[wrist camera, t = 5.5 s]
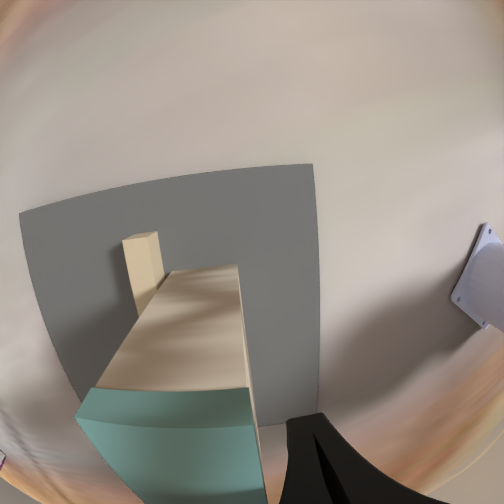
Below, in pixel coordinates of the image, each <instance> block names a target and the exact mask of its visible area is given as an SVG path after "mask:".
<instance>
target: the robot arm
mask: <svg viewBox="0 0 504 504" xmlns="http://www.w3.org/2000/svg"><path fill="white" fill-rule="evenodd" d="M451 301H452V302H453V303H455V304H456V305H457V306H458V307H459V308H460V309H461V310H463V311H464V312H465V313H466V314H467V315H468V316H469V317H471V318H472V319H473V320H474V321H475V322H476V323H477V324H478V325H479V326H480V327H481V328H483V329H484V330H485V329H487V327H488V326H489V324H491V325H493V326H494V327H496V328H498V329H499V330H501V331H502V332H504V244H502V242H501V241H500V239H499V238H498V236H497V235H496V233H495V232H494V230H493V229H492V227H491V226H490V224H489V223H484V225H483V227H482V230H481V232H480V235H479V237H478V240H477V242H476V245H475V247H474V249H473V252H472V254H471V256H470V258H469V260H468V263H467V265H466V267H465V269H464V271H463V273H462V275H461V277H460V279H459V281H458V283H457V285H456V287H455V289H454V291H453V292H452V294H451ZM286 426H287V449H288V465H287V471H286V477H285V482H284V487H283V491H282V495H281V499H280V502H279V504H449V503H446V502H442V501H439V500H436V499H433V498H430V497H427V496H425V495H422V494H420V493H418V492H416V491H414V490H412V489H409V488H407V487H405V486H403V485H402V484H400V483H398V482H396V481H395V480H393V479H391V478H390V477H388V476H387V475H385V474H384V473H382V472H381V471H380V470H378V469H377V468H376V467H374V466H373V465H372V464H371V463H369V462H368V461H367V460H366V459H365V458H363V457H362V456H361V455H360V454H359V453H358V452H357V451H356V450H355V449H354V448H353V447H352V446H351V445H350V444H349V443H348V442H347V441H346V440H345V439H344V438H343V437H342V436H341V435H340V434H339V432H338V431H337V430H336V429H335V428H334V427H333V425H332V424H331V423H330V422H329V420H328V419H327V418H326V416H325V415H324V414H323V413H322V412H320V413H316V414H311V415H306V416H301V417H295V418H290V419H288V420H287V421H286Z"/></svg>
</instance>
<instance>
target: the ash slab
mask: <svg viewBox="0 0 504 504" xmlns="http://www.w3.org/2000/svg"><path fill="white" fill-rule="evenodd" d="M74 418H75V419H76V421H77V422H78V424H79V425H80V427H81V428H82V430H83V431H84V433H85V434H86V436H87V437H88V439H89V440H90V441H91V443H92V444H93V445H94V447H95V448H96V449H97V451H98V452H99V453H100V455H101V456H102V457H103V458H104V460H105V461H106V462H107V463H108V464H109V466H110V467H111V468H112V469H113V470H114V472H115V473H116V474H117V475H118V476H119V477H120V478H121V479H122V481H123V482H124V483H125V484H126V485H127V486H128V487H129V488H130V489H131V490H132V491H133V492H134V493H135V494H136V495H137V496H138V497H139V498H140V499H141V500H142V501H143V502H144V503H145V504H268V500H267V495H266V489H265V482H264V474H263V467H262V459H261V451H260V443H259V435H258V427H257V419H256V411H255V402H254V394H253V385H252V377H251V370H250V362H249V355H248V347H247V339H246V332H245V324H244V316H243V308H242V299H241V291H240V283H239V274H238V266H237V264H231V265H222V266H213V267H204V268H195V269H185V270H176V271H171V273H170V274H169V275H168V277H167V278H166V280H165V281H164V282H163V284H162V285H161V287H160V288H159V290H158V291H157V292H156V294H155V295H154V297H153V298H152V300H151V301H150V302H149V304H148V305H147V307H146V308H145V310H144V311H143V313H142V314H141V316H140V317H139V319H138V320H137V322H136V323H135V325H134V326H133V328H132V329H131V331H130V332H129V334H128V335H127V337H126V338H125V340H124V341H123V343H122V344H121V346H120V347H119V349H118V350H117V352H116V354H115V355H114V357H113V358H112V360H111V362H110V363H109V365H108V366H107V368H106V370H105V371H104V373H103V374H102V376H101V378H100V379H99V381H98V383H97V384H96V386H95V388H91V389H90V391H89V392H88V394H87V396H86V397H85V399H84V401H83V402H82V404H81V406H80V407H79V409H78V411H77V413H76V414H75V416H74Z"/></svg>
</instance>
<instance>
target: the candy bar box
mask: <svg viewBox="0 0 504 504" xmlns="http://www.w3.org/2000/svg"><path fill="white" fill-rule="evenodd" d="M5 458H6V455H5V454H4V453H3V452H2V451H1V450H0V470H1V468H2V466H3V464H4V461H5Z"/></svg>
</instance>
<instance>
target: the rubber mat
mask: <svg viewBox="0 0 504 504" xmlns="http://www.w3.org/2000/svg"><path fill="white" fill-rule="evenodd" d="M19 217H20V225H21V231H22V237H23V243H24V248H25V254H26V258H27V263H28V267H29V271H30V275H31V279H32V283H33V287H34V290H35V294H36V297H37V301H38V304H39V307H40V310H41V313H42V316H43V319H44V322H45V325H46V327H47V330H48V333H49V335H50V338H51V340H52V343H53V345H54V348H55V350H56V352H57V355H58V357H59V359H60V361H61V364H62V366H63V368H64V370H65V372H66V374H67V376H68V378H69V380H70V382H71V384H72V386H73V388H74V390H75V392H76V394H77V396H78V397H79V399H80V401H81V403H82V402H83V401H84V399H85V397H86V396H87V394H88V392H89V391H90V389H91V388H95V386H96V384H97V383H98V381H99V379H100V378H101V376H102V374H103V373H104V371H105V370H106V368H107V366H108V365H109V363H110V362H111V360H112V358H113V357H114V355H115V354H116V352H117V350H118V349H119V347H120V346H121V344H122V343H123V341H124V340H125V338H126V337H127V335H128V334H129V332H130V331H131V329H132V328H133V326H134V325H135V323H136V322H137V320H138V319H139V317H140V316H141V314H142V313H143V311H144V310H145V308H146V307H147V305H148V304H149V302H150V301H151V300H152V298H153V297H154V295H155V294H156V292H157V291H158V290H159V288H160V287H161V285H162V284H163V282H164V281H165V280H166V278H167V277H168V275H169V274H170V273H171V271H176V270H185V269H195V268H204V267H213V266H222V265H231V264H237V266H238V274H239V283H240V291H241V299H242V308H243V316H244V324H245V332H246V339H247V347H248V355H249V362H250V370H251V377H252V385H253V394H254V402H255V411H256V419H257V427H260V426H268V425H275V424H282V423H286V421H287V420H288V419H290V418H295V417H301V416H306V415H311V414H316V411H317V396H318V378H319V350H320V274H319V245H318V226H317V210H316V196H315V184H314V173H313V164H294V165H278V166H264V167H252V168H242V169H232V170H223V171H214V172H206V173H199V174H192V175H185V176H178V177H172V178H165V179H159V180H154V181H148V182H142V183H137V184H132V185H127V186H122V187H117V188H112V189H108V190H103V191H99V192H95V193H90V194H86V195H82V196H78V197H74V198H70V199H66V200H63V201H59V202H55V203H52V204H48V205H45V206H41V207H38V208H35V209H31V210H28V211H25V212H22V213H19Z"/></svg>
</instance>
